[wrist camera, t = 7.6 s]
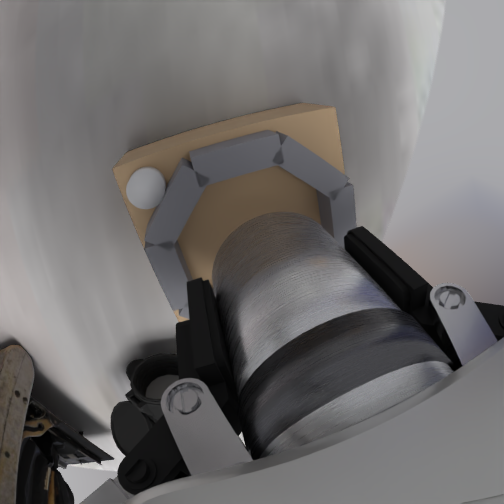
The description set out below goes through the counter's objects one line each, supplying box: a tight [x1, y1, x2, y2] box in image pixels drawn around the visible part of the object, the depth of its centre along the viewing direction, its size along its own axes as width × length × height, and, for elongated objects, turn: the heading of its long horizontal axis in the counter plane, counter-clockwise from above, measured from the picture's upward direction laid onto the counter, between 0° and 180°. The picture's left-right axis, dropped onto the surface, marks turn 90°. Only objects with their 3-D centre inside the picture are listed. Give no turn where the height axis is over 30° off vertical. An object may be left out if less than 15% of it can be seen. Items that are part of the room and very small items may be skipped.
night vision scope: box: [111, 354, 179, 456], centre depth 22 cm, size 8×18×10 cm
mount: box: [112, 103, 357, 322], centre depth 16 cm, size 10×10×6 cm
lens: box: [212, 212, 456, 460], centre depth 9 cm, size 5×5×8 cm
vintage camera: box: [0, 345, 114, 504], centre depth 14 cm, size 10×16×20 cm, turn 19°
